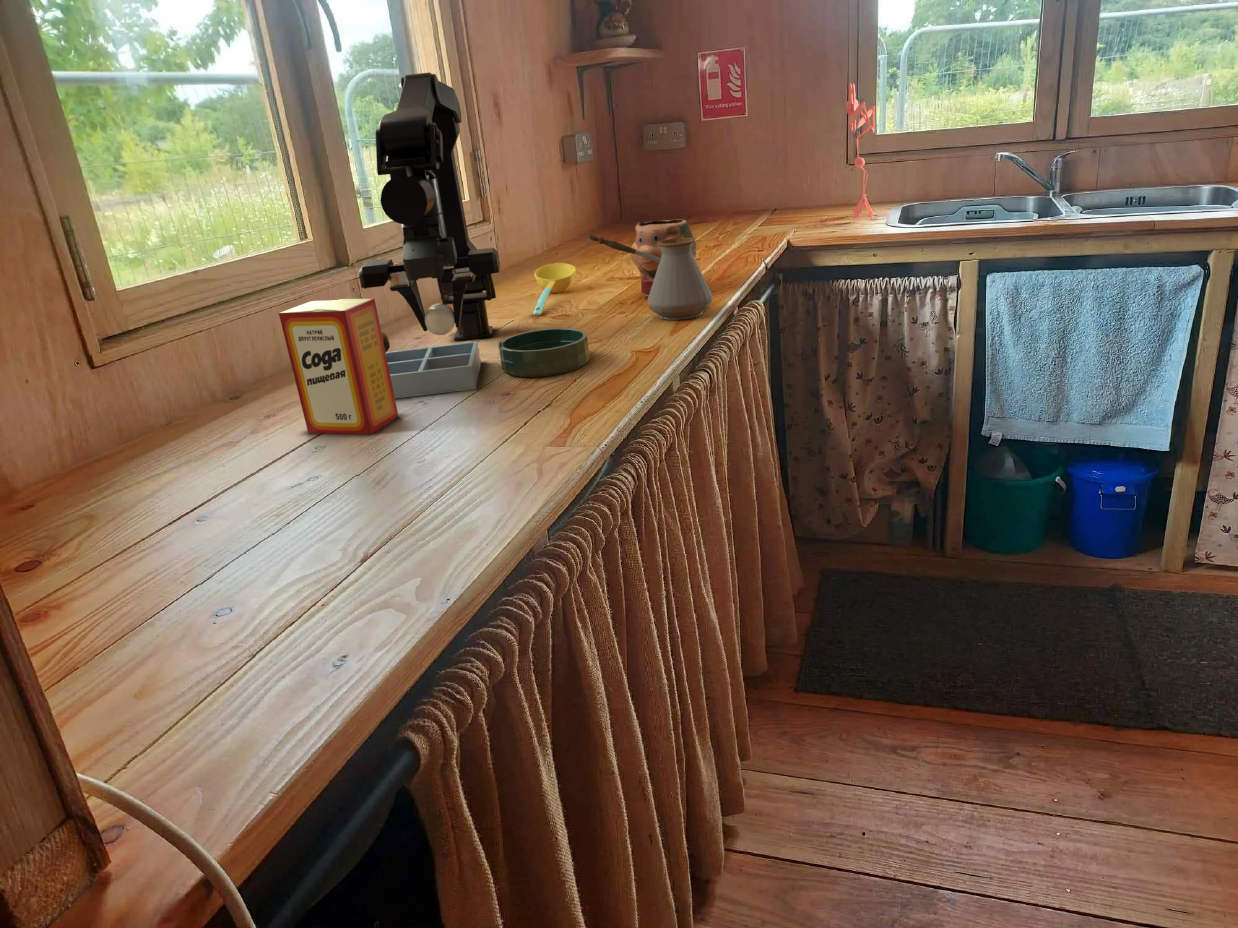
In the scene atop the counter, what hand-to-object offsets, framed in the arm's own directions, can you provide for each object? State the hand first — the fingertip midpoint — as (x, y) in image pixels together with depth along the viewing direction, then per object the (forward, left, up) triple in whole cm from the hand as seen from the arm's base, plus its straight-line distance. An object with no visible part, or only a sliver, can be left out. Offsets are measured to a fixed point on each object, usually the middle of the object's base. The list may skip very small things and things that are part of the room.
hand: (441, 328), depth 124 cm
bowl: (-4, +14, -8) cm, 17 cm away
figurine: (-122, +101, -8) cm, 158 cm away
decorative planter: (-49, +39, -8) cm, 63 cm away
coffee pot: (-28, +33, -8) cm, 45 cm away
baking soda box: (+14, -12, -8) cm, 20 cm away
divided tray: (-3, -4, -8) cm, 10 cm away
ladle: (-53, +15, -8) cm, 56 cm away
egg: (0, 0, -1) cm, 1 cm away
